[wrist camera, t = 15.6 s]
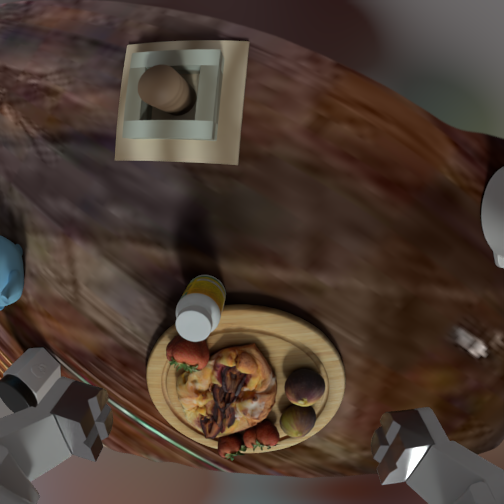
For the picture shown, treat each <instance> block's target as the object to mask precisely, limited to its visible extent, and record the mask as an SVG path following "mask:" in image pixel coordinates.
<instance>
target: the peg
mask: <svg viewBox="0 0 504 504" xmlns="http://www.w3.org/2000/svg"><path fill="white" fill-rule="evenodd" d="M138 94H139V96H140V98H141V99H142V100H143V101H144V102H145V103H147V104H149V105H151V106H154V107H156V108H158V109H160V110H162V111H165V112H167V113H169V114H171V115H175V116H179V115H183V114H186V113H187V112H189V111H190V110H191V109H192V108H193V106H194V104H195V102H196V92H195V90H194V88H193V87H192V86H191V85H190V84H189V83H188V82H187V81H186V80H185V79H184V78H183V77H182V76H181V75H180V74H179V73H178V72H176V71H175V70H174V69H173V68H172V67H170V66H168V65H155V66H153V67H151V68H149V69H147V70H146V71H145V72H144V73H143V74H142V76H141V77H140V80H139V82H138Z"/></svg>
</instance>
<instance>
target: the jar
mask: <svg viewBox="0 0 504 504" xmlns="http://www.w3.org/2000/svg"><path fill="white" fill-rule="evenodd" d="M3 375H4V377H3V378H2V379H1V380H0V397H1V399H2V400H3V402H4V403H5V404H6V405H7V407H8V408H9V409H10V410H12V411H13V412H14V413H16V412H18V411H21V410H24V409H26V408H29V407H31V406H32V407H35V408H36V406H37V405H38V404H39V402H40V401H41V400H42V398H43V397H44V396H45V395H46V393H47V392H48V391H49V390H50V388H51V387H52V386H53V385H54V383H55V382H56V381H57V380H58V378H60V377H61V372H60V364H59V363H58V362H57V361H56V360H55V359H54V358H53V357H52V356H51V355H50V354H49V353H48V352H47V351H46V350H45V349H44V348H43V347H42V348H29V349H28V350H27V351H26V352H25V353H24V354H23V355H22V356H20V357H19V358H18V359H17V360H16V361H15V362H14V363H13V364H12V365H11V366H10V367H9V368H8V369H7V370H6V371H5V372H4V374H3Z"/></svg>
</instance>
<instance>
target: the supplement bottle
mask: <svg viewBox="0 0 504 504" xmlns="http://www.w3.org/2000/svg"><path fill="white" fill-rule="evenodd" d="M225 298H226V292H225V288H224V286H223V285H222V283H221V282H220V281H219V280H218V279H217V278H215V277H213V276H210V275H200V276H197V277H195V278H194V279H192V280H191V281H190V283H189V284H188V286H187V288H186V290H185V292H184V293H183V295H182V297H181V299H180V300H179V302H178V304H177V307H176V318H177V319H176V329H177V331H178V333H179V334H180V335H181V336H182V337H183V338H185V339H186V340H189V341H193V342H198V341H202V340H204V339H206V338H207V337H208V336H209V334H210V333H211V332H212V331H213V330H215V329H216V327H217V326H218V324H219V322H220V318H221V314H222V310H223V306H224V302H225Z"/></svg>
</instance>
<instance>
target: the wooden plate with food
mask: <svg viewBox="0 0 504 504" xmlns="http://www.w3.org/2000/svg"><path fill="white" fill-rule="evenodd" d="M146 379H147V387H148V390H149V394H150V396H151V399H152V401H153V403H154V405H155V406H156V408H157V409H158V411H159V412H160V413H161V415H162V416H163V417H164V418H165V419H166V420H167V421H168V422H169V423H170V424H171V425H172V426H173V427H174V428H175V429H177V430H178V431H179V432H181V433H182V434H184V435H185V436H187V437H189V438H191V439H193V440H195V441H197V442H199V443H201V444H204V445H206V446H209V447H212V448H216V449H218V452H219V454H220V456H222V457H225V458H226V457H227V459H228V458H229V457H230V458H231V460H234V458H233V457H232V456H237V455H245V454H242V453H260V452H268V451H274V450H279V449H283V448H286V447H289V446H292V445H295V444H297V443H300V442H302V441H304V440H306V439H307V438H309V437H311V436H313V435H314V434H316V433H317V432H318V431H319V430H321V429H322V428H323V427H324V426H325V425H326V424H327V423H328V422H329V421H330V420H331V419H332V418H333V416H334V415H335V414H336V412H337V410H338V408H339V406H340V404H341V402H342V399H343V396H344V392H345V384H346V380H345V369H344V365H343V362H342V359H341V357H340V355H339V353H338V351H337V349H336V348H335V346H334V345H333V344H332V342H331V341H330V340H329V339H328V337H327V336H326V335H325V334H324V333H323V332H322V331H320V330H319V329H318V328H317V327H315V326H314V325H312V324H311V323H309V322H307V321H306V320H304V319H302V318H300V317H298V316H295V315H293V314H290V313H288V312H285V311H282V310H279V309H275V308H271V307H266V306H259V305H249V304H234V305H224V306H223V310H222V314H221V318H220V322H219V324H218V326H217V327H216V329H215V330H213V331H212V332H211V333H210V334H209V336H208V337H207V338H206V339H204V340H202V341H198V342H193V341H189V340H186V339H185V338H183V337H182V336H181V335H180V334H179V333H178V331H177V329H176V323H175V324H173V325H172V326H171V327H169V328H168V329H167V330H166V331H165V332H164V333H163V334H162V335H161V336H160V337H159V339H158V340H157V342H156V343H155V345H154V347H153V349H152V351H151V353H150V355H149V358H148V362H147V368H146ZM236 453H237V454H236Z"/></svg>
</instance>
